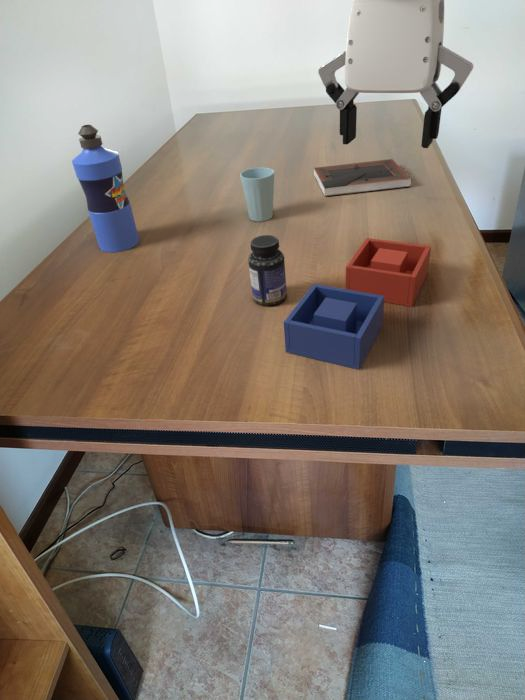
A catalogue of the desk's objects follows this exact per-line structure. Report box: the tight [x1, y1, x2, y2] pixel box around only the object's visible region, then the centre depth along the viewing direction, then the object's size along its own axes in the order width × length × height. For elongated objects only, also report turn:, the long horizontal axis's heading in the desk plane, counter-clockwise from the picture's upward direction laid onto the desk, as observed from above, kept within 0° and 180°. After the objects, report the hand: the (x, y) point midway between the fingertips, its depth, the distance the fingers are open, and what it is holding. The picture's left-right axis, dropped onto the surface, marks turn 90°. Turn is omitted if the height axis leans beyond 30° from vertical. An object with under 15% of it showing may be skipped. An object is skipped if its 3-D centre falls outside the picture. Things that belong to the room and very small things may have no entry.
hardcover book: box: [313, 158, 412, 197], centre depth 130 cm, size 16×2×22 cm
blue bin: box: [283, 283, 385, 370], centre depth 76 cm, size 12×12×6 cm
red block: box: [371, 248, 408, 274], centre depth 87 cm, size 5×5×5 cm
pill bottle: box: [247, 234, 288, 307], centre depth 85 cm, size 6×6×11 cm
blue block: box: [314, 298, 357, 333], centre depth 75 cm, size 5×5×5 cm
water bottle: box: [71, 124, 140, 253], centre depth 105 cm, size 9×9×25 cm
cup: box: [239, 166, 275, 223], centre depth 114 cm, size 8×8×10 cm
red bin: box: [344, 237, 432, 308], centre depth 87 cm, size 12×12×6 cm
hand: (386, 143), depth 61 cm, fingers open, 9 cm apart
